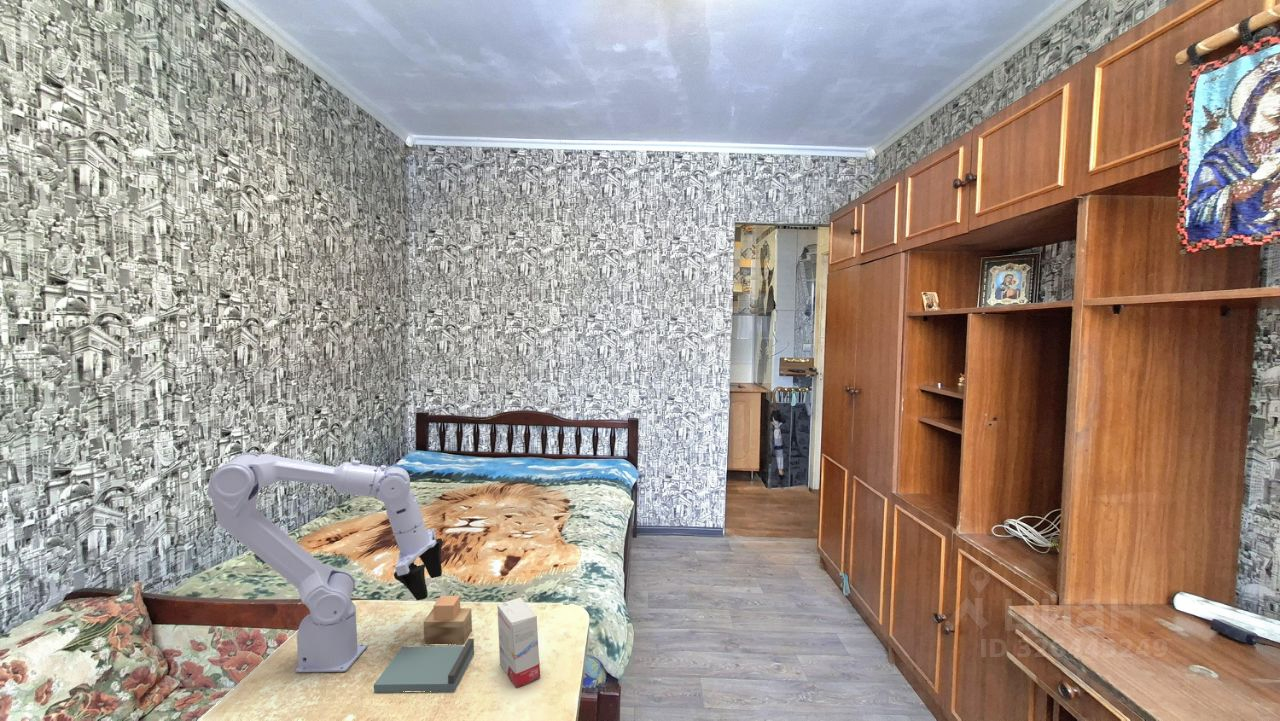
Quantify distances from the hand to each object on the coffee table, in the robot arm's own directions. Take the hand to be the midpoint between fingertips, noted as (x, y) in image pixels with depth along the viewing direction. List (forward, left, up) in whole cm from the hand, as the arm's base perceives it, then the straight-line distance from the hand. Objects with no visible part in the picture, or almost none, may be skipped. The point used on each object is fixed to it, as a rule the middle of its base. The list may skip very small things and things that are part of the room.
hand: (429, 587), depth 108 cm
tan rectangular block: (+3, +1, -11) cm, 12 cm away
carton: (+3, +1, -6) cm, 7 cm away
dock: (+3, -10, -11) cm, 15 cm away
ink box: (+20, -10, -11) cm, 25 cm away
